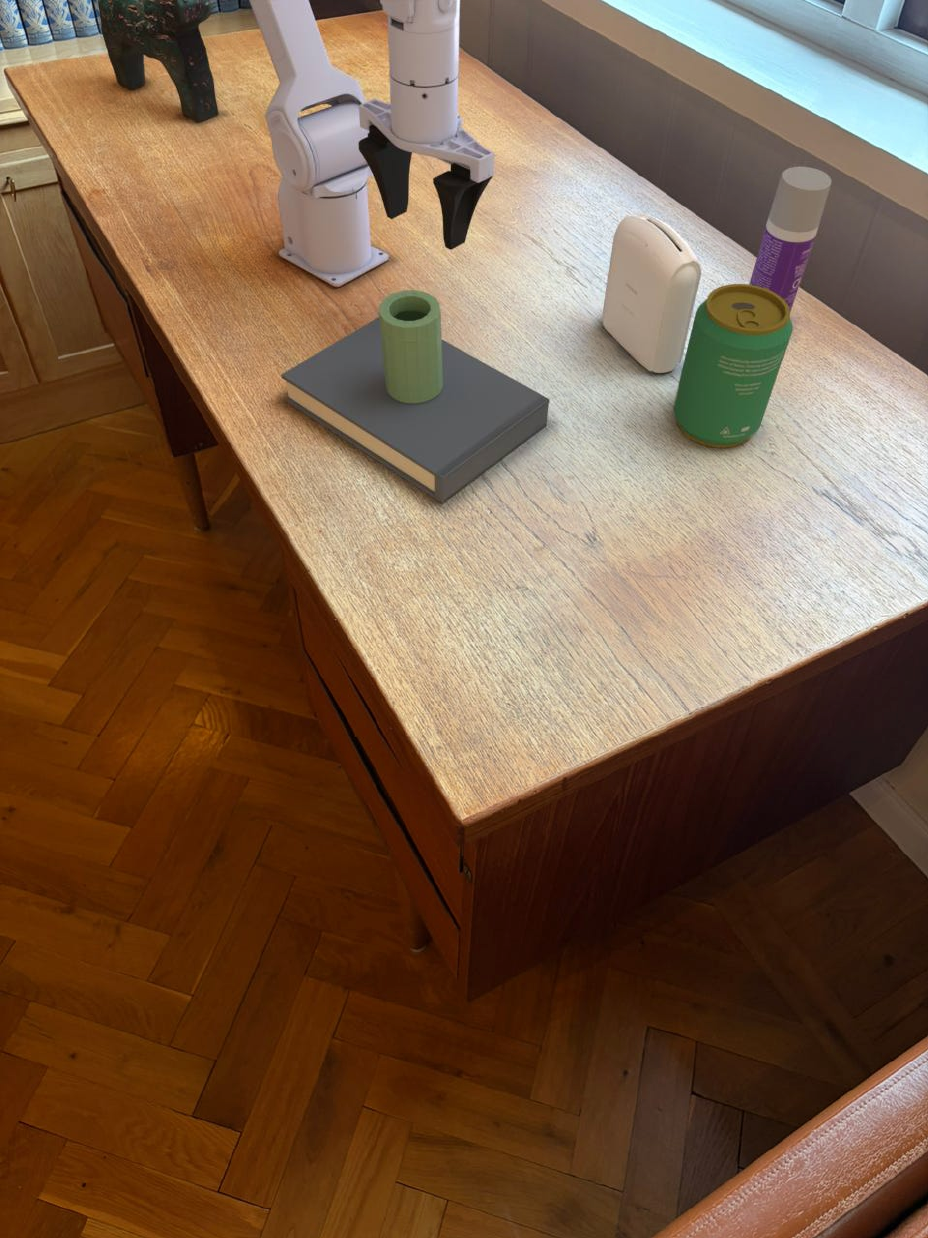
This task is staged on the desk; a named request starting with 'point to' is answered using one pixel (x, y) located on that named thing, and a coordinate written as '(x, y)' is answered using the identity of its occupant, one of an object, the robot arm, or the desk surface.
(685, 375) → the beverage can
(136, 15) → the ceramic cat
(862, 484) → the desk surface
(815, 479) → the desk surface
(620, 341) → the photo printer
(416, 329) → the jar
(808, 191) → the container
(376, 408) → the book
